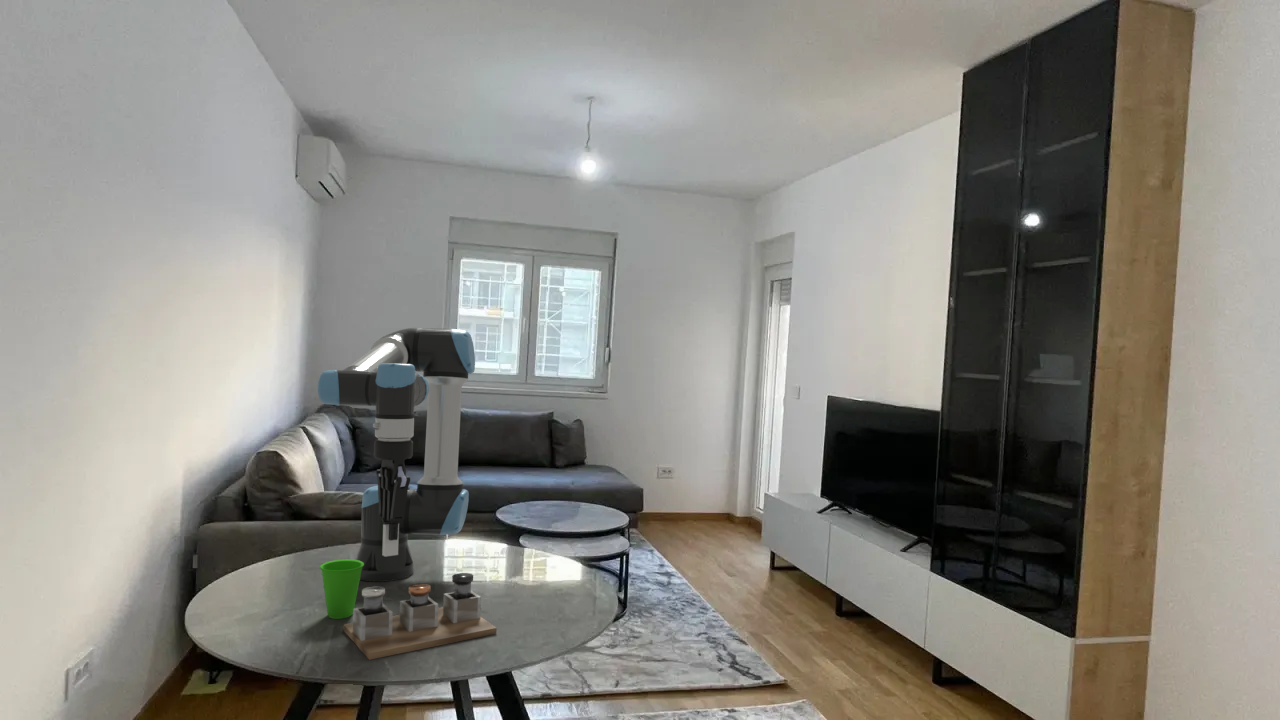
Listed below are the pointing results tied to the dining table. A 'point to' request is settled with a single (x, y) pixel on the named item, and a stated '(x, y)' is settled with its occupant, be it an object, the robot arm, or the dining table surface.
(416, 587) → the copper domed cylinder
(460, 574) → the black plunger
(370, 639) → the panel
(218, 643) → the dining table surface
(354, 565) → the cup
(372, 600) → the offwhite plunger
